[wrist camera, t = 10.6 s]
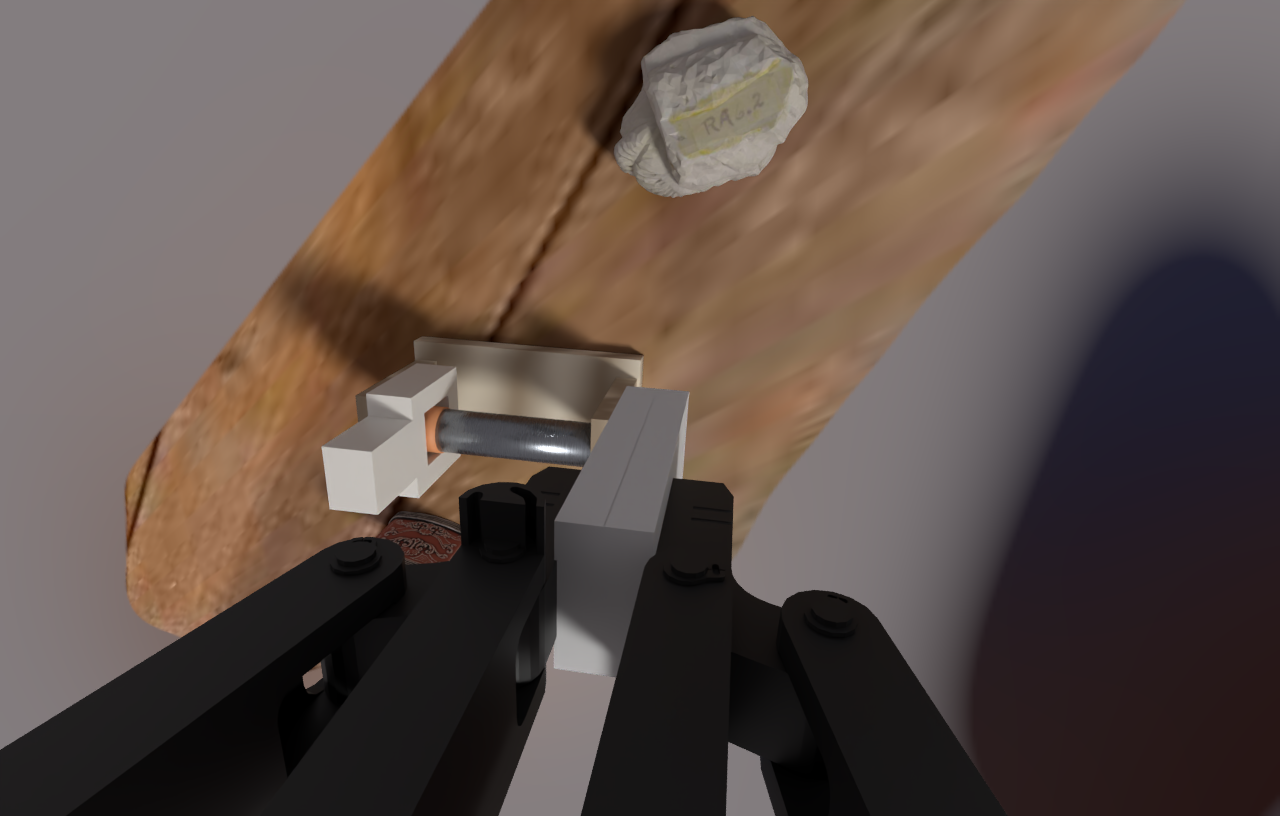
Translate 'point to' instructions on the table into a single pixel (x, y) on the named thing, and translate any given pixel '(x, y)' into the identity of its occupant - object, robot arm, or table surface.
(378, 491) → the white pipe saddle block
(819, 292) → the table surface
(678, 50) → the fossil replica
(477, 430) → the pipe stand
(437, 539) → the lighter
